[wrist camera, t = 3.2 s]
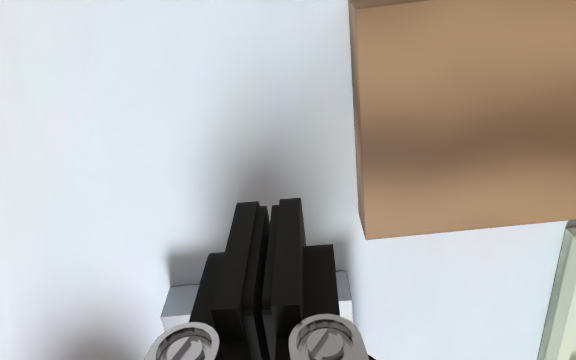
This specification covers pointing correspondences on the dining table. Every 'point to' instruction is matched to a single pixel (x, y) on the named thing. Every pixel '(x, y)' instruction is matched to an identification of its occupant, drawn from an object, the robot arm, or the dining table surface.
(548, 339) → the tray
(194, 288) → the grey square frame
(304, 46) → the dining table surface
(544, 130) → the tan cardboard panel
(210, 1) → the dining table surface
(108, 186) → the dining table surface
